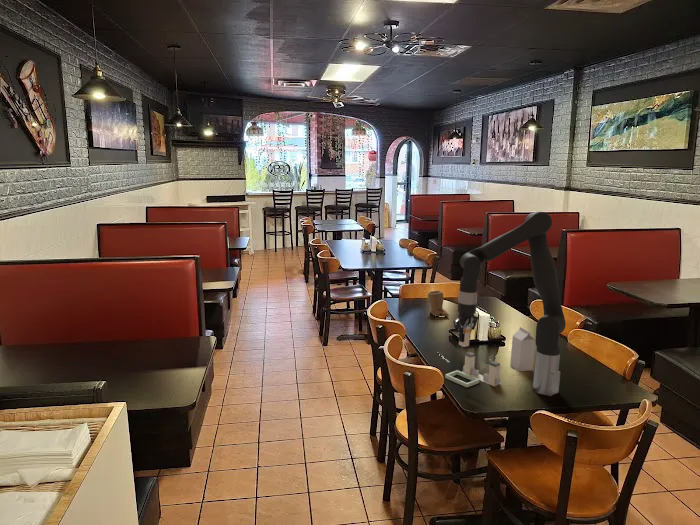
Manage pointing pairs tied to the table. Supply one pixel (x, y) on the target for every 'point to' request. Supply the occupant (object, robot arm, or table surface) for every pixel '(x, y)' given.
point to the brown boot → (437, 303)
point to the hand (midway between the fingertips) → (464, 340)
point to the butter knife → (444, 358)
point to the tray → (473, 379)
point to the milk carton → (522, 350)
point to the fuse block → (470, 370)
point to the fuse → (466, 337)
